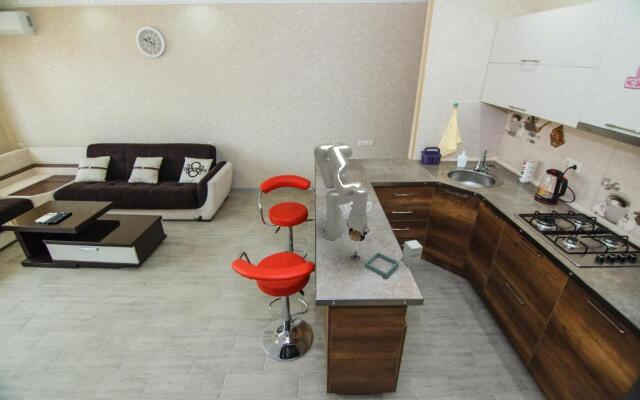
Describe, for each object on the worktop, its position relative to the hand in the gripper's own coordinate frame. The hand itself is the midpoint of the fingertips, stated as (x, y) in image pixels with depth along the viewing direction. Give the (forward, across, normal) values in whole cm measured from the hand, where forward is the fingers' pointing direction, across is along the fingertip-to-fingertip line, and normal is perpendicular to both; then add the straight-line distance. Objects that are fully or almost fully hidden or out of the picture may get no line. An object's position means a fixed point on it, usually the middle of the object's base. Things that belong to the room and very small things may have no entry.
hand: (356, 237), depth 169 cm
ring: (0, 0, 0) cm, 0 cm away
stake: (+15, +1, 0) cm, 15 cm away
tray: (+15, +16, +4) cm, 22 cm away
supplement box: (+15, +26, +19) cm, 35 cm away
